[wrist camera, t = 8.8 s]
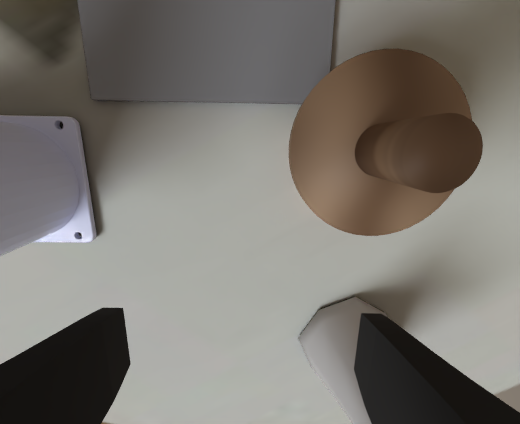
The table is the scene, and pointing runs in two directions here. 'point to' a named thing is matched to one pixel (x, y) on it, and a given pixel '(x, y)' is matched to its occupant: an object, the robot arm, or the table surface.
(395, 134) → the lid
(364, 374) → the robot arm
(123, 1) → the mat
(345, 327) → the flask
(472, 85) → the table surface
